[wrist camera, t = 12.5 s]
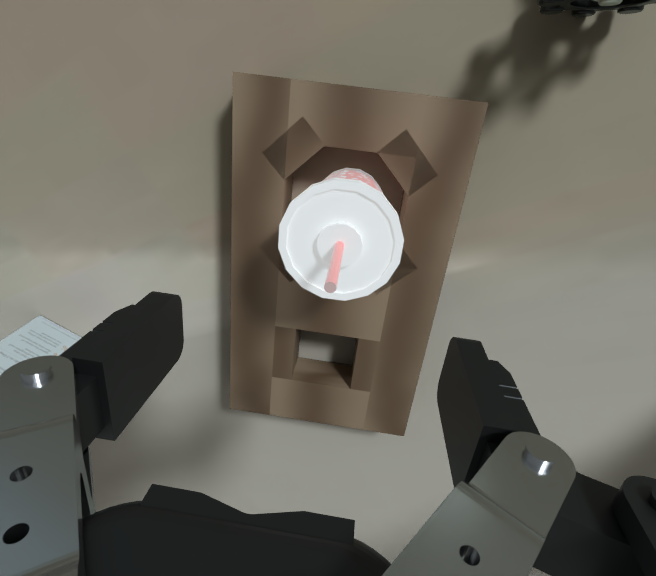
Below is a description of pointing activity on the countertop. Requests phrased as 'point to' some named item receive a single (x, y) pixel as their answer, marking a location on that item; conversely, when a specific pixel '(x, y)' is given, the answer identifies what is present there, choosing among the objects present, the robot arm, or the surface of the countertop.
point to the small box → (35, 342)
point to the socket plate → (329, 314)
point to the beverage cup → (341, 236)
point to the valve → (592, 6)
